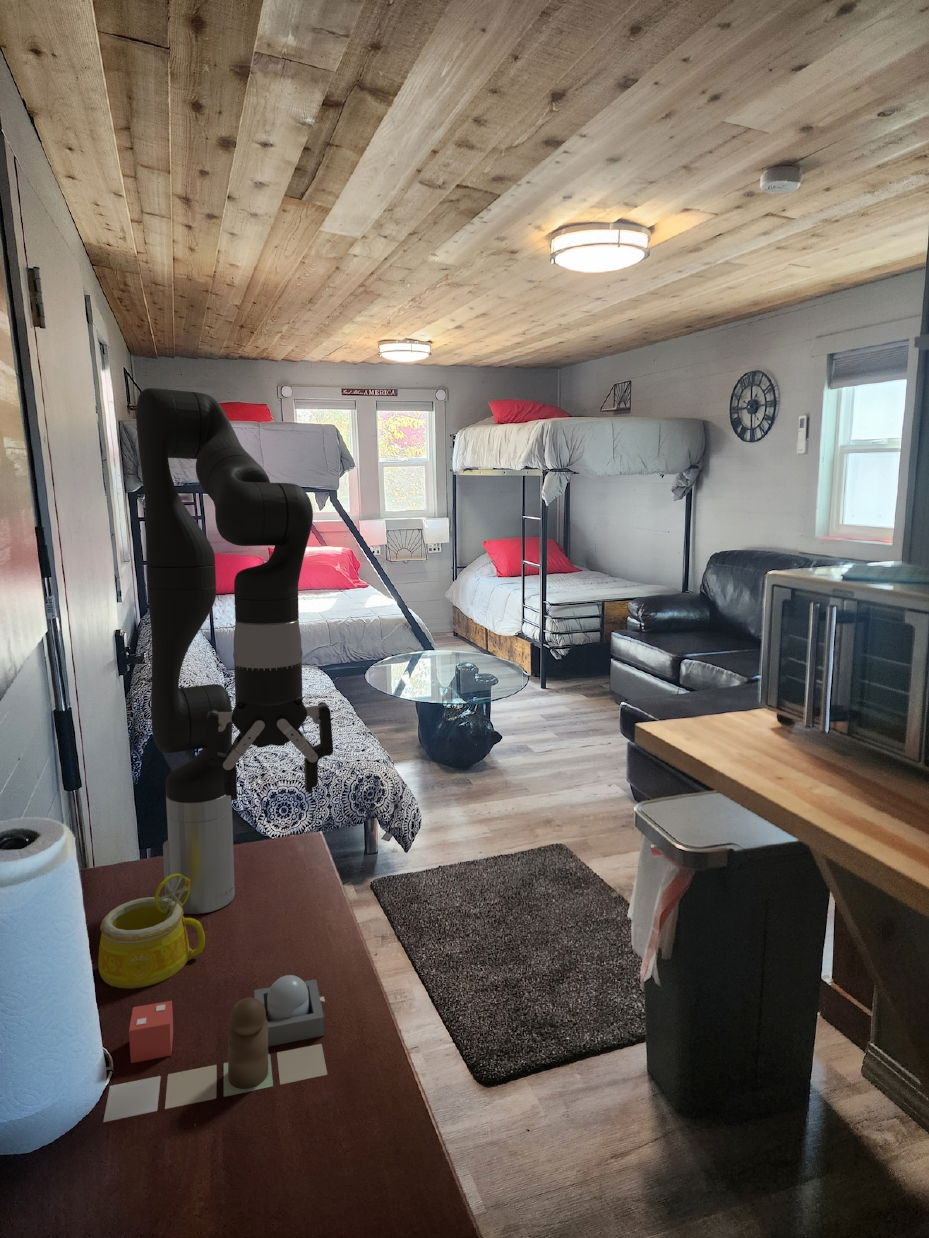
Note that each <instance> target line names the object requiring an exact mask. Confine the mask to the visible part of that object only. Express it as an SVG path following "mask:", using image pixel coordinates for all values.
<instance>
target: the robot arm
mask: <svg viewBox="0 0 929 1238" xmlns="http://www.w3.org/2000/svg"><path fill="white" fill-rule="evenodd" d="M135 417H136V418H135V423H136V435H137V443H138V445H137V446H138V451H139V461H140V462H139V463H140V472H141V478H142V488H143V499H144V511H145V514H144V515H145V537H146V538H145V543H146V545H145V547H146V550H145V551H146V552H145V553H146V561H145V562H146V563H145V564H146V581H147V597H148V606H149V607H148V608H149V619H150V621H149V622H150V634H151V636H150V637H151V684H150V685H151V689H150V691H151V692H150V695H151V696H150V720H151V721H150V723H151V733H152V737H153V738H152V739H153V741H154V744H155V746H156V748H157V749H158V750H159V751H160V752H161V753H163V754H174V753H179V752H185V751H186V752H187V751H188V752H189V751H193V750H200V749H201V750H200V751H199V752H198V753H197V755H196V756H194V757H193V758H192V759H191V760H190V761H188V762H186V763H184V764H182V765H180V766H179V767H177V768H176V769H174V770H173V771H171V772H170V773H169V774H168V776H167V777H166V779H165V796H166V797H165V799H166V801H165V802H166V818H167V820H166V821H167V837H168V838H167V840H165V841H164V843H163V844H162V853H163V855H162V856H163V873H164V874H163V875H164V880H165V879H166V878H167V877H168V876H170V875H172V874H181V875H183V876H185V877H187V879H190V893H189V896H188V898H187V900H186V902H185V903H184V905H183V906H182V909H183V914H187V915H188V914H189V915H198V914H199V915H200V914H207V913H211V912H214V911H217V910H219V909H223V908H224V907H226V906H227V905H229V904H230V903H231V902H232V901H233V899H234V898H235V894H236V893H235V863H234V862H235V861H234V859H235V857H234V835H233V834H234V833H233V831H234V830H233V806H232V804H233V803H232V802H233V801H237V800H238V785H237V784H238V782H237V781H238V780H237V776H238V775H237V762H239V761H240V759H241V757H243V756H244V755H245V753H246V752H247V751H248V749H249V748H250V747H251V745H252V746H254V747H256V748H258V749H259V748H266V747H268V746H275V747H280V746H281V747H282V746H285V745H286V744H288V743H289V742H291V744H293V745H294V747H295V748H296V749H297V750H298V751H299V752H300V753H301V754H302V755H303V756H304V758H303V761H304V763H303V765H304V766H303V767H304V768H303V769H304V771H303V772H304V788H305V789H304V790H305V793H307V794H308V793H313V791H314V790H313V788H317V786H318V784H319V775H318V774H319V769H318V768H319V766H318V765H319V760H320V759H321V758H323V757H326V756H327V757H330V756H332V754H333V753H334V743H333V742H334V741H333V731H332V730H333V729H332V717H331V710H330V707H329V705H328V704H327V703H326V702H325V701H321V702H319V703H318V704H317V705H311V706H305V704H304V702H303V701H304V700H303V663H302V662H303V661H302V658H303V654H304V653H303V648H302V634H301V629H300V621H299V620H300V619H299V617H300V616H299V614H300V613H299V582H300V577H301V573H302V572H301V571H302V567H303V562H304V558H305V553H306V549H307V545H308V543H309V538H310V537H311V536H310V535H311V532H312V526H313V520H314V511H313V506H312V502H311V499H310V497H309V495H308V493H307V491H305V489H303V487H301V486H300V485H298V484H295V483H290V482H289V483H288V482H271V481H270V478H269V475H268V474H267V472H266V471H265V470H264V468H263V467H262V465H260V464H259V463H258V462H257V460H255V459H254V457H252V456H251V455H250V453H248V452H247V451H246V449H245V448H244V447H243V446H242V444H241V442H240V440H239V438H238V437H237V434H236V432H235V430H234V428H233V426H232V424H231V422H230V420H229V418H228V416H227V415H226V412H225V411H224V409H223V407H222V406H221V404H220V403H219V402H218V401H217V400H216V399H215V398H214V397H213V396H211V395H209V394H206V393H202V392H195V391H187V390H185V391H184V390H176V389H167V388H155V387H153V388H152V387H149V388H144V389H143V390H142V391H141V392H140V393H139V395H138V398H137V402H136V412H135ZM169 459H185V460H195V461H196V462H195V473H196V477H197V480H198V483H199V484H200V486H201V487H202V489H203V491H204V492H205V493H206V494H207V495H208V496H209V498H210V499H211V500H212V501H213V506H214V511H215V512H214V513H215V514H214V515H215V516H214V517H215V519H214V520H215V525H216V528H217V531H218V534H219V535H220V536H221V538H222V539H224V540H225V541H226V542H227V543H230V544H231V545H234V546H240V547H262V546H263V547H268V546H270V547H274V548H273V550H272V553H271V556H270V557H269V559H268V560H267V561H265V562H264V563H261V564H258V565H255V566H250V567H247V568H245V569H241V570H239V571H238V572H237V573H236V575H235V577H234V584H233V595H234V617H235V618H234V619H235V622H234V631H233V654H232V655H233V656H232V657H233V665H234V670H233V671H234V694H235V695H234V697H235V699H234V700H235V701H234V702H235V703H234V704H235V705H234V708H233V707H232V701H231V698H230V695H229V693H228V691H227V689H226V688H225V687H224V686H223V685H221V684H216V683H214V684H212V683H211V684H203V685H201V684H200V685H193V686H186V687H184V686H183V687H179V684H180V682H179V681H180V676H181V670H182V667H183V664H184V660H185V658H186V654H187V653H188V650H189V649H190V646H191V644H192V643H193V641H194V639H195V637H196V636H197V635H198V632H199V631H200V630H201V628H202V626H203V625H204V623H205V622H206V620H207V618H208V617H209V614H210V613H211V611H212V609H213V606H214V604H215V601H216V598H217V577H216V576H217V574H216V573H217V572H216V558H215V557H216V556H215V552H214V549H213V546H212V544H211V542H210V541H209V539H208V537H207V536H206V534H205V532H204V531H203V530H202V528H201V527H200V525H199V524H198V522H197V521H196V519H194V517H193V516H192V514H191V513H190V512H189V510H188V508H187V507H186V505H185V503H184V502H183V500H182V499H181V496H180V495H179V493H178V491H177V489H176V486H175V483H174V479H173V476H172V474H171V473H172V472H171V468H170V463H169ZM232 708H233V709H232ZM307 717H310V718H311V720H312V722H313V723H314V724H315V725H318V731H319V743H318V744H316V745H314V746H313V745H312V743H311V742H310V741H309V740H308V738H306V735H304V733H303V732H302V731H301V730H300V728H301V727H302V726H303V724H304V723H305V721H306V719H307ZM233 726H234V727H235V728H236V729H237V730H238V731H239V733H238V735H237V736H236V737H235V739H234V740H233ZM176 880H177V877H174V878H172V879H170V880H169V881H168V884H169V886H170V888H171V890H172V891H173V892H174V893H176V894H175V896H176V897H177V898H178V896H179V894H180V893H177V892H175V889H176V886H177V884H178V882H177V884H176V886H175V888H174V885H175V883H176ZM178 881H179V880H178ZM184 881H185V880H184V879H183V878H182V879H181V881H180V883H179V885H178V887H177V889H176V891H177V890H179V889H181V888H183V886H184ZM173 888H174V890H173ZM178 892H179V891H178ZM170 893H171V892H170V891H169V890H168V888H167V887H166V886H165V885H164V895H167V894H169V895H171V894H170ZM185 894H186V891H184V892H183V894H182V896H181V897H180V899H179V901H180V902H181V901H182V900H183V898H184V896H185ZM167 896H168V895H167ZM172 896H173V895H171V896H169V897H170V899H171V898H172V900H173V901H175V899H174V897H172ZM169 897H167V898H168V899H169Z"/></svg>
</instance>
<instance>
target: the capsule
mask: <svg viewBox="0 0 929 1238" xmlns="http://www.w3.org/2000/svg"><path fill="white" fill-rule="evenodd" d="M304 981H305V980H303V979H302V978H300V977H298V976H296V975H292V974H287V975H284V976H281V977H279V978H277V979H276V980H275V981H274V982H273V983H272V985H271V986H270V989H269V992H268V996H267V1010H268V1011H267V1021H268V1022H269V1021H275V1020H280V1019H285V1018H291V1017H296V1016H302V1015H307V1014H310V1006H309V996H308V989H307V986H306V984H305V983H304Z"/></svg>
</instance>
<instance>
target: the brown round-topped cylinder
mask: <svg viewBox="0 0 929 1238" xmlns="http://www.w3.org/2000/svg"><path fill="white" fill-rule="evenodd" d="M268 1054H269V1047H268V1018H267V1011H266V1010H265V1007H264V1005H263V1004H262V1002H261V1001H259V1000H258V999H256V998H254V997H251V996H249V997H245V998H242V999H240V1000H238V1002H236V1003H235V1005H234V1006H233V1007H232V1009H231V1011H230V1015H229V1025H228V1026H227V1062H228V1079H229V1082H230V1084H231V1085H232V1086H234V1087H236V1088H239V1089H249V1088H253V1087H255V1086H257V1085H259V1084H261V1083H262V1082H263V1081H264V1080H265V1079H266V1077H267V1075H268Z"/></svg>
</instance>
